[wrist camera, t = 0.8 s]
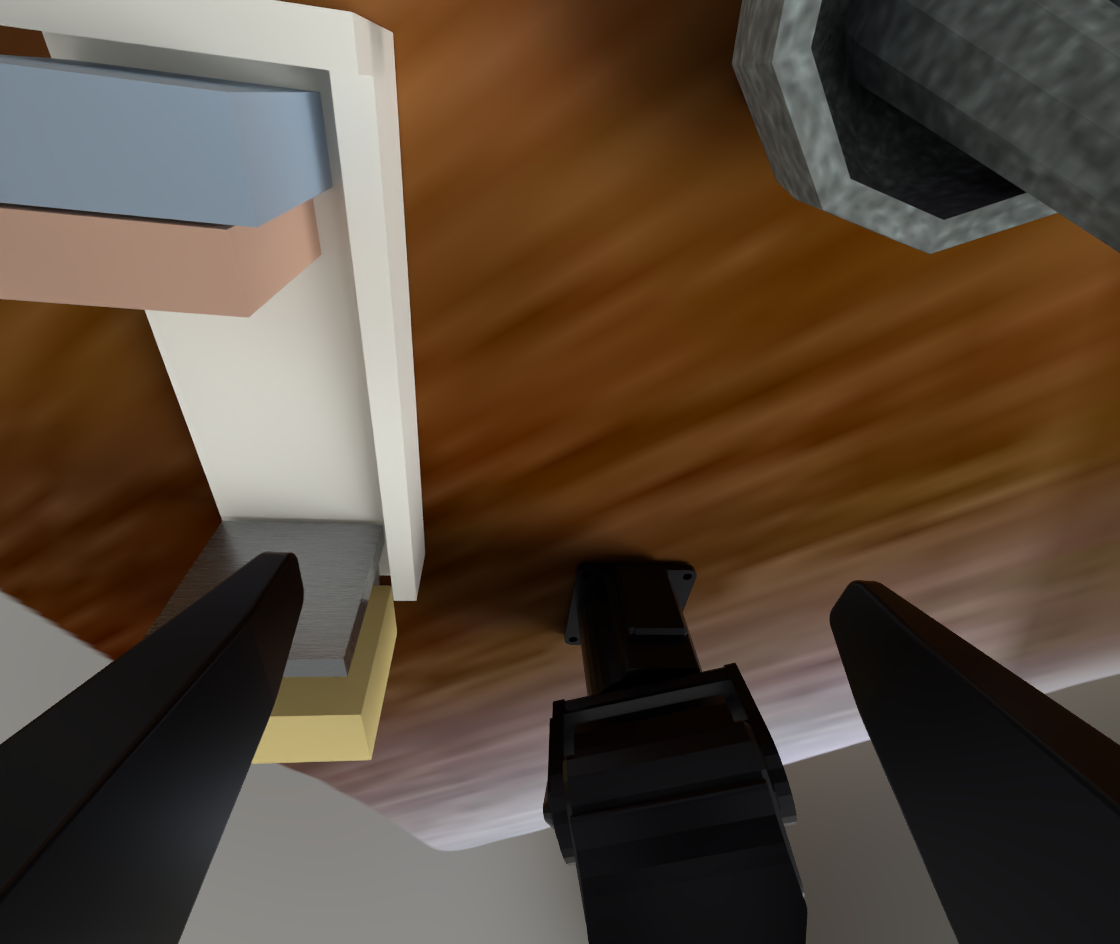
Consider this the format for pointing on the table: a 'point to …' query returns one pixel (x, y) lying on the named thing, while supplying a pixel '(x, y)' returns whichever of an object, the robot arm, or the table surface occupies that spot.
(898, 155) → the mortar and pestle
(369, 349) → the shelf
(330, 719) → the ochre book
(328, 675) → the bookend
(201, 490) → the table surface
